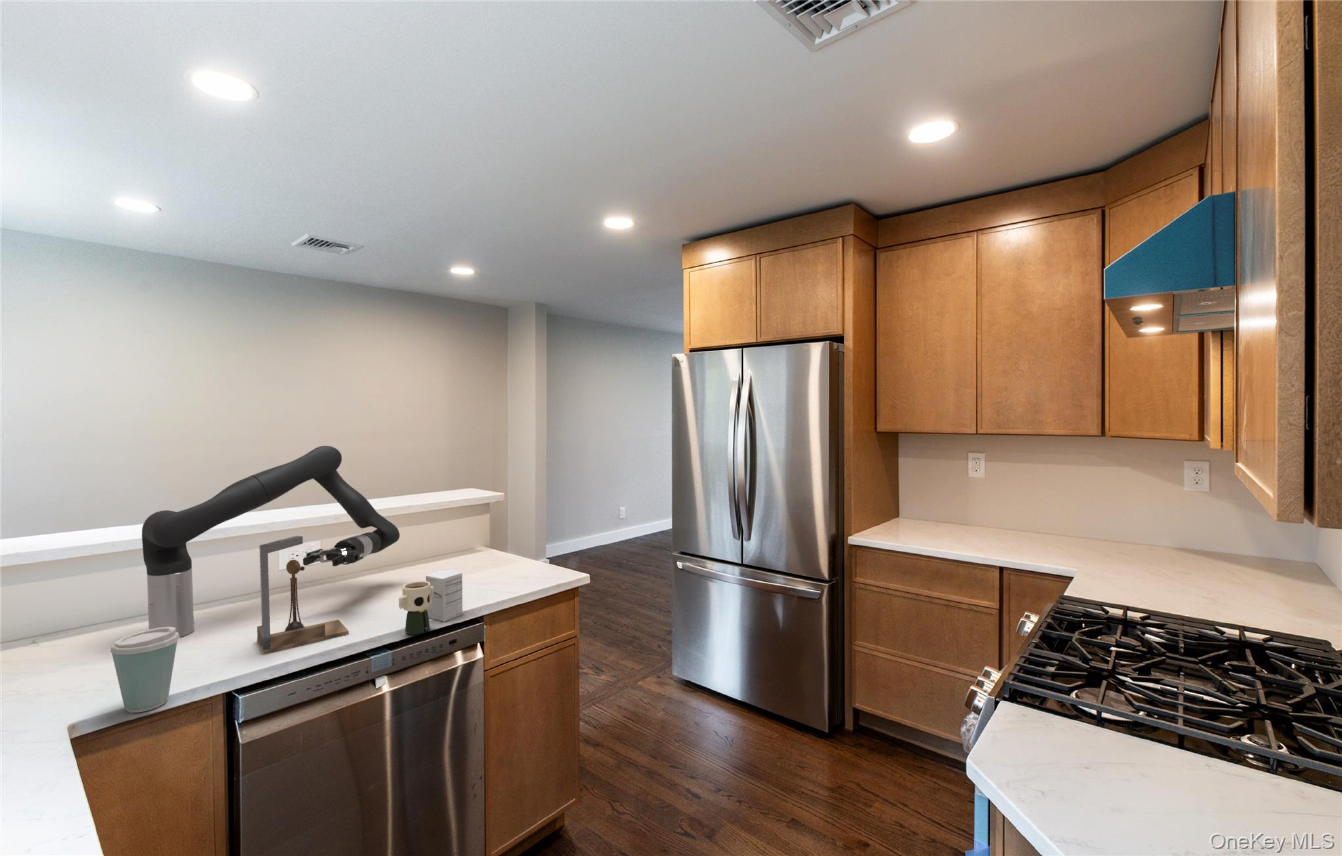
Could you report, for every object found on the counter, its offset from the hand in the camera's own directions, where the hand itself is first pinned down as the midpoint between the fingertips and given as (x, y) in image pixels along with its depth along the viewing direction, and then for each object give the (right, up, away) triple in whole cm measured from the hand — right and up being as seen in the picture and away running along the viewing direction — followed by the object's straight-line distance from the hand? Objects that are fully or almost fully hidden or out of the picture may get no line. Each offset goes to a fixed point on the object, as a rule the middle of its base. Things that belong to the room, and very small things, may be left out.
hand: (319, 562), depth 166 cm
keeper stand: (+1, -18, -9) cm, 20 cm away
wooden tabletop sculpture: (0, -17, -10) cm, 20 cm away
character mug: (+30, -18, -5) cm, 35 cm away
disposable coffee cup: (-9, -20, -44) cm, 49 cm away
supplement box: (+33, -17, +7) cm, 38 cm away
